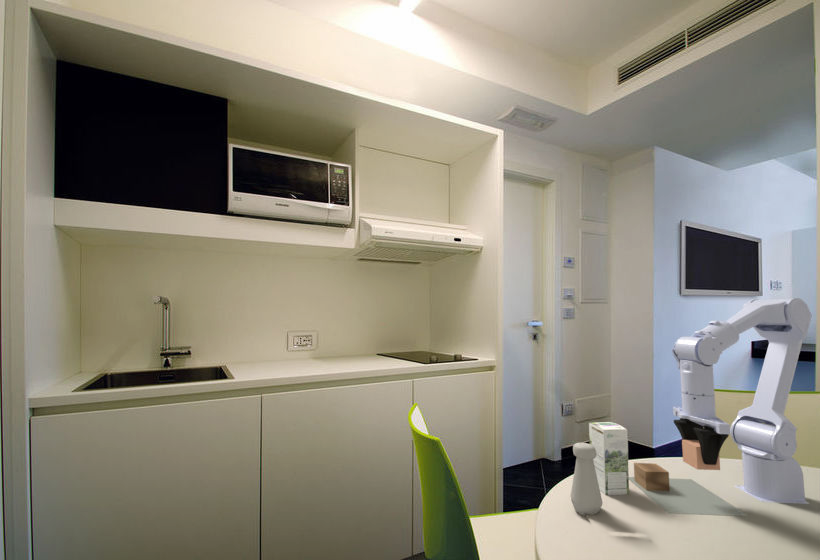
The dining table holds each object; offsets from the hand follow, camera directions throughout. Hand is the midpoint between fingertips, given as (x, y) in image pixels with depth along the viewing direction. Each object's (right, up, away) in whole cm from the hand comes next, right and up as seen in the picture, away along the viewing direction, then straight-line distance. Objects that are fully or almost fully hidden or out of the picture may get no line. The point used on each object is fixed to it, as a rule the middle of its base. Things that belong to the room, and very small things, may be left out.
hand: (701, 459), depth 81 cm
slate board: (-3, -9, +2) cm, 10 cm away
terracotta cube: (0, -1, 0) cm, 1 cm away
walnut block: (-6, -9, +7) cm, 13 cm away
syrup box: (-17, -10, +5) cm, 20 cm away
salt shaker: (-26, -9, -4) cm, 28 cm away
